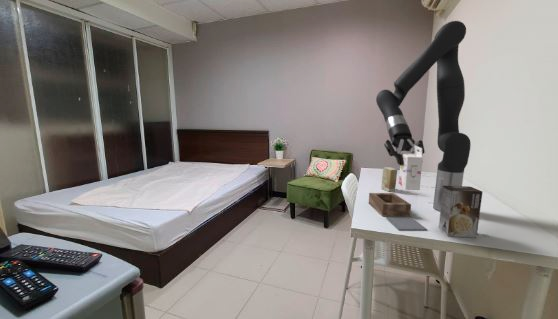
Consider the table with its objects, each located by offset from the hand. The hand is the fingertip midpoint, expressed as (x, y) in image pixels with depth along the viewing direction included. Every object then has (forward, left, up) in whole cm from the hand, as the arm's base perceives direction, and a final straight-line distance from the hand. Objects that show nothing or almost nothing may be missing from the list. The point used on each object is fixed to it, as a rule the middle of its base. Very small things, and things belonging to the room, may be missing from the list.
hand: (410, 164), depth 89 cm
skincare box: (-13, -44, -23) cm, 51 cm away
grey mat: (0, 0, -23) cm, 23 cm away
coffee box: (-14, +7, -23) cm, 28 cm away
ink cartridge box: (0, 0, -8) cm, 8 cm away
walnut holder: (0, -15, -23) cm, 27 cm away
